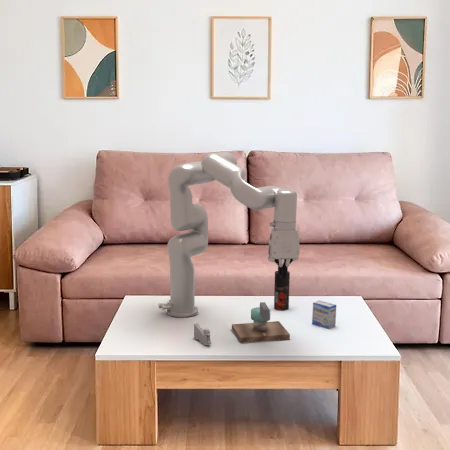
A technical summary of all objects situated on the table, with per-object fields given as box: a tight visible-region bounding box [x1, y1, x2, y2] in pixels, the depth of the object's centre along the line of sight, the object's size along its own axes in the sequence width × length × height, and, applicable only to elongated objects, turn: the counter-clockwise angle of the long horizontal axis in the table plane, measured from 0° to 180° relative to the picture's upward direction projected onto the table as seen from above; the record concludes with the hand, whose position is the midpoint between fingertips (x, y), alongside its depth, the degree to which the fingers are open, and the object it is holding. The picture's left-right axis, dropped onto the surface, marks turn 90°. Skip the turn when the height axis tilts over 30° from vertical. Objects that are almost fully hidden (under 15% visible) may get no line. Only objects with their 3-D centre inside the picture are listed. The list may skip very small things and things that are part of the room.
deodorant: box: [273, 270, 291, 312], centre depth 277 cm, size 6×6×15 cm
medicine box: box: [311, 300, 337, 330], centre depth 258 cm, size 8×4×9 cm, turn 47°
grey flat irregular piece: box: [193, 322, 212, 346], centre depth 240 cm, size 6×1×10 cm
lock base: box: [231, 320, 291, 344], centre depth 248 cm, size 18×14×6 cm
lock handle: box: [250, 301, 271, 322], centre depth 243 cm, size 14×7×7 cm, turn 8°
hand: (282, 276), depth 239 cm, fingers closed
